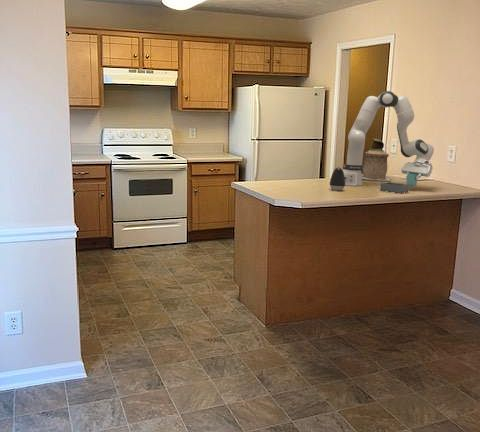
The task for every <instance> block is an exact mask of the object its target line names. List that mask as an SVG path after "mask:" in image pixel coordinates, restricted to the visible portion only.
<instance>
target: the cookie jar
mask: <svg viewBox="0 0 480 432" xmlns="http://www.w3.org/2000/svg"><path fill="white" fill-rule="evenodd" d="M372 140H373V141H372V143H371V148H370V149H369V150H368V151H365V152H364V153H365V154H364V155H363V169H362V180H365V181H366V180H368V181H377V182H378V181H380V182H385V181H389V182H391V181H392V179H391V178H390V177H389V176H388V175H387V172H388V158H389V156H390V155H389V153H387V151H385V150H384V147H385V143H384V142H383V141H382V140H381V139H379V138H377V139H376V138H375V137H373V138H372ZM389 178H390V179H389Z"/></svg>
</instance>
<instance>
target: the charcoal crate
mask: <svg viewBox="0 0 480 432" xmlns="http://www.w3.org/2000/svg"><path fill="white" fill-rule="evenodd" d="M409 190H410V186H409V185H406V183H398V182H391V181H389V182H381V183H380V188H379V191H380V192H385V191H388V192H387V193H391V192H395V193H394V194H397V193H402V194H405V193H404V192H408V193H409Z"/></svg>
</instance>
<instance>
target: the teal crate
mask: <svg viewBox="0 0 480 432" xmlns="http://www.w3.org/2000/svg"><path fill="white" fill-rule="evenodd" d="M406 176H407V178H406V182H405V184H406V185H409V187H410V186H411V187H416V186H417V183H418V180H415V177H417V176H418V174H414V173H408V174H406Z"/></svg>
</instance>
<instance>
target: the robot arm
mask: <svg viewBox="0 0 480 432" xmlns="http://www.w3.org/2000/svg"><path fill="white" fill-rule="evenodd" d="M362 103H363V104H362V105H361V107H360V109H359V112H358V114H357V116H356V118H355V120H354V123H353V124H352V127H351V129H350V130H349V133H348V135H347V138H348V146H347V147H348V148H347V155H346V163H345V164H342V165H341V166H342V170H343V172H344V176H345V186H352V187H356V186H363V179H362V174H363V167H364V164H363V161H364V150H365V146H366V145H365V143H366V134H367V132H368V131H369V129H370V127H371V126H372V123H373V122H374V119H375V117H376V115H377V112H378V110H379V109H380V108H384V109H385V108H390V107H392V108H393V109H394V111H395V114H396V118H397V123H396V130H397V136H398V140H399V144H400V153H401V155H402V156H404V157H405V158H411V157H413V156H416V157H415V159H414V161H413V162H405V163H404V164H403V166H402V168H401V170H400V171H401V173H402V174H405V175H406V176H405V177H406V179H407V174H408V173H414V174H418V176H417V177H415V180H417V181H418V179H420V178H421V177H423V178H429V177H430V176H431V174H432V171H433V164H432V163H431V162H430V160H431V159H432V157H433V155H434V151H435V148H434V146H433V145H432V144H430V143H426V142H425V141H424V140H423V139H420V138H418V139H416V140H413V141H409V139H408V137H409V136H408V133H407V130H408V127H409V126H410V125H411V124H412V123H413V121H414V119H415V113H414V109H413V106H412V104H411V102H410V100H409V99H408V97H407V96H405V95H399V96H398V95H396V94H395V93H394V92H392V91H390V90H386V91H383V92H382V93H380V94H379V95H378V96H374V95H370V96H367V97H366V98H365V100H364V102H362Z"/></svg>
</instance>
